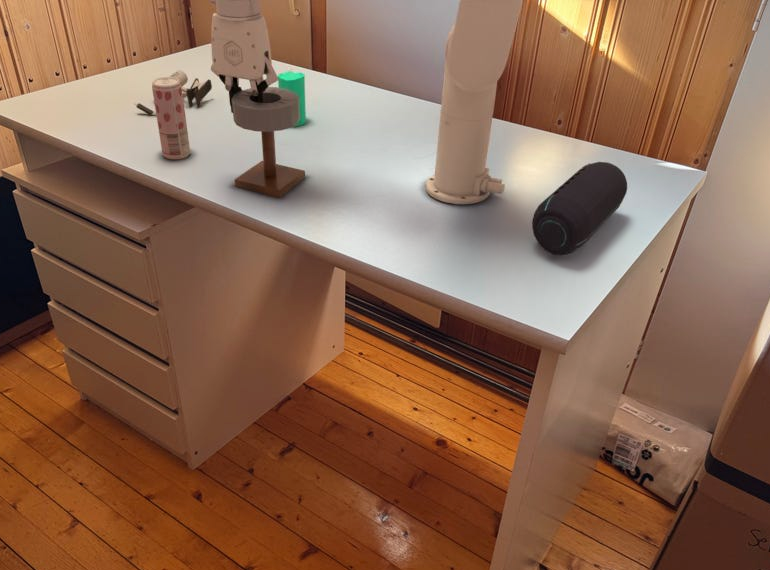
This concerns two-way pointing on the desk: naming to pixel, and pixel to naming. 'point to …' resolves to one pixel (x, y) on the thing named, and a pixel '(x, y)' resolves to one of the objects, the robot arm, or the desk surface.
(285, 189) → the rack
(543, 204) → the portable speaker
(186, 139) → the beverage can
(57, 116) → the desk surface
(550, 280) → the desk surface
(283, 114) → the tape
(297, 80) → the candle
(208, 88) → the clip-on lamp
